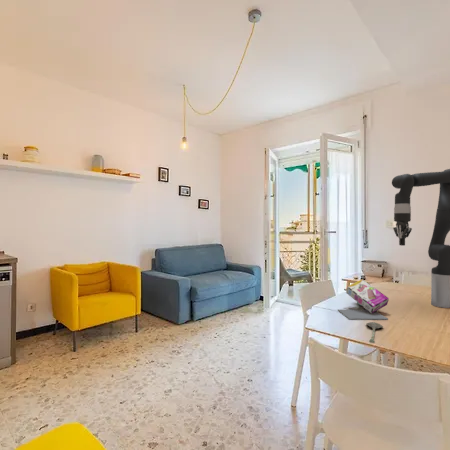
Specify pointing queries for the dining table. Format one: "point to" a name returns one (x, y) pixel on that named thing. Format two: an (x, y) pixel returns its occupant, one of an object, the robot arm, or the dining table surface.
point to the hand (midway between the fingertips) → (402, 245)
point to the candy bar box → (367, 296)
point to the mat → (362, 315)
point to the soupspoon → (374, 326)
